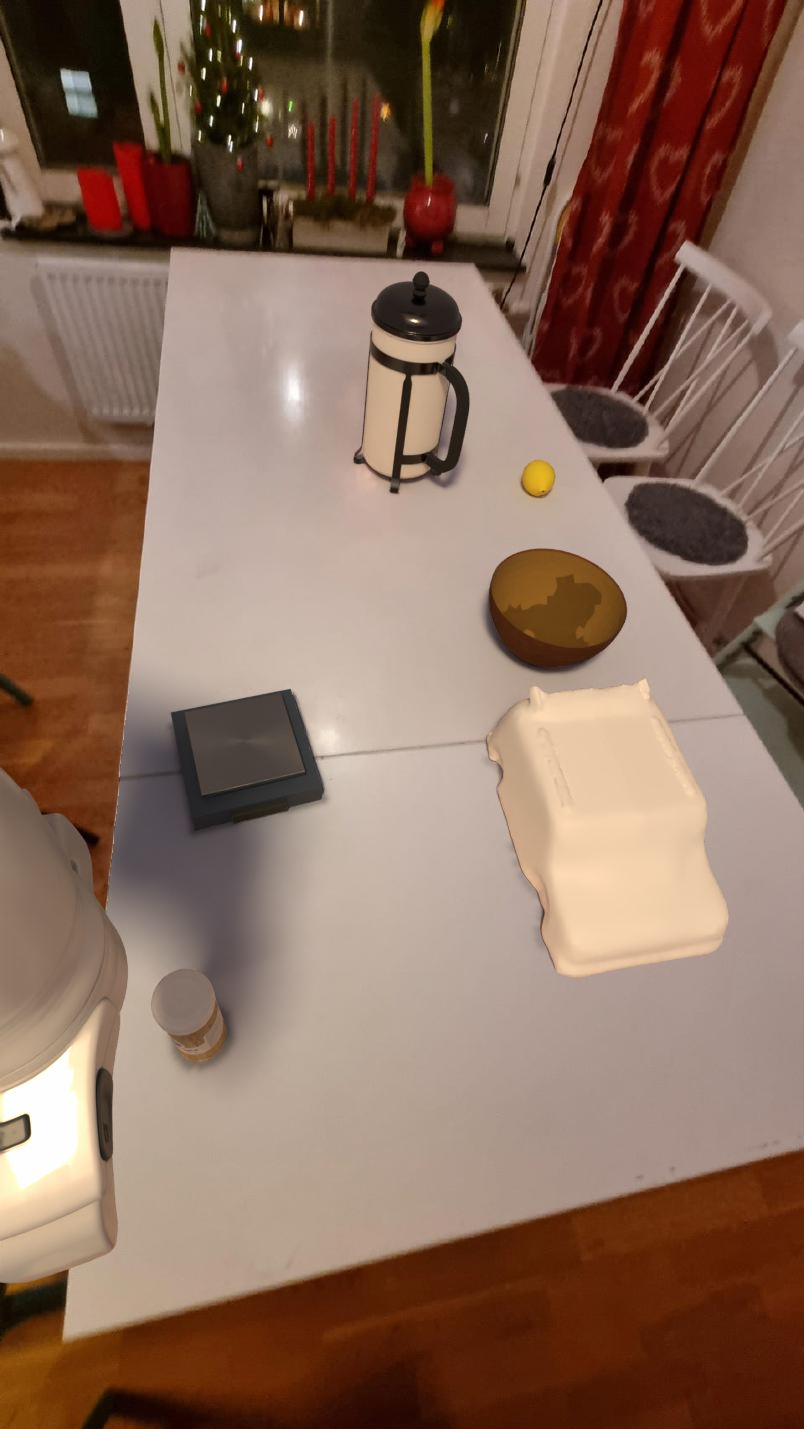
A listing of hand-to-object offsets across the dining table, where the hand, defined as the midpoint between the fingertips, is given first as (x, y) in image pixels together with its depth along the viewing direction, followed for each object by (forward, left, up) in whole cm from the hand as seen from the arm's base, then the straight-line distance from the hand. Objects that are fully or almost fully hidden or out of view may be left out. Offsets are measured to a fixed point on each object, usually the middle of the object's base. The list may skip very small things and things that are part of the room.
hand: (90, 1048), depth 40 cm
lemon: (+71, +72, -25) cm, 104 cm away
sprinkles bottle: (+4, +4, -25) cm, 25 cm away
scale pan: (+14, +32, -22) cm, 41 cm away
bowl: (+56, +40, -25) cm, 73 cm away
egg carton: (+49, +12, -25) cm, 56 cm away
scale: (+14, +32, -25) cm, 43 cm away
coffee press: (+51, +81, -25) cm, 99 cm away
